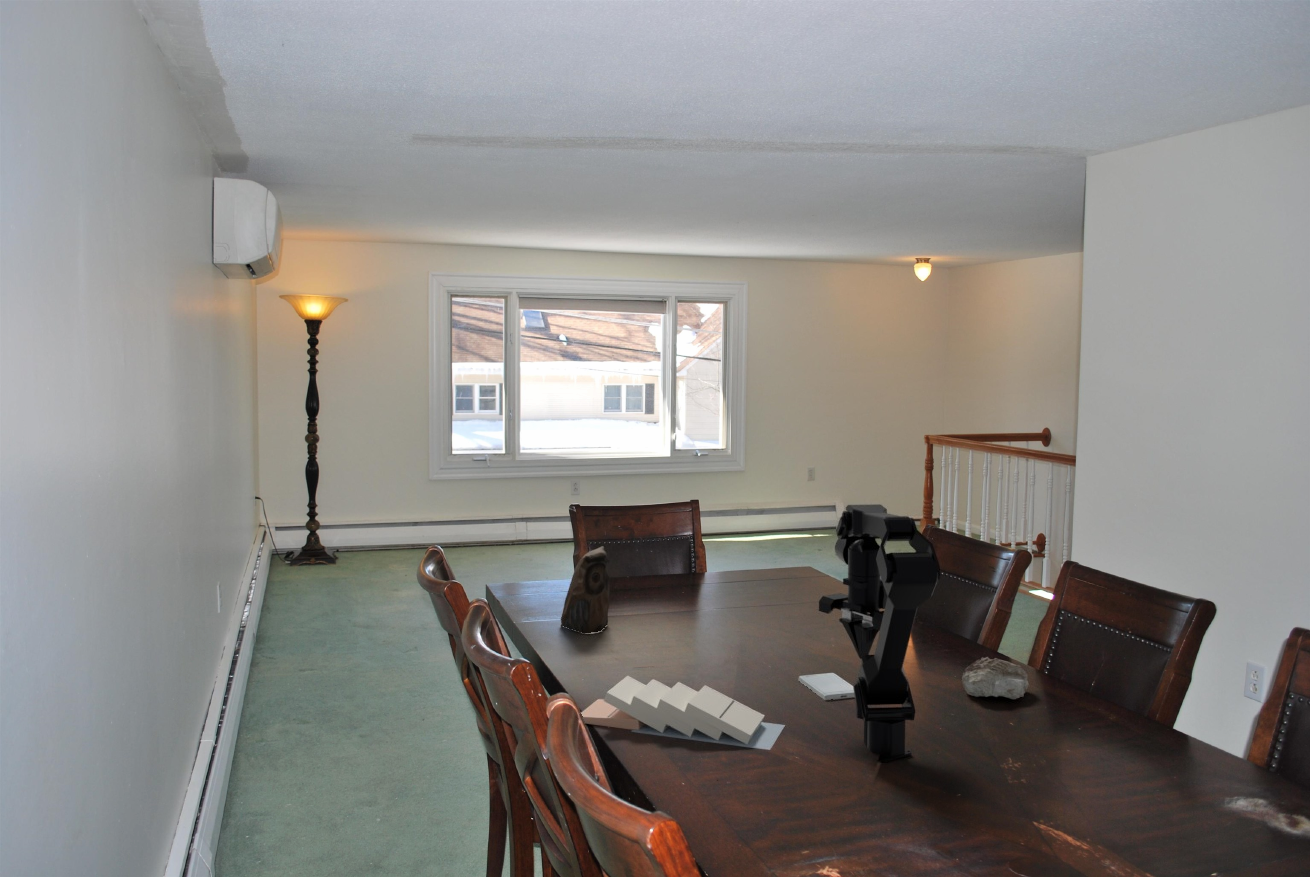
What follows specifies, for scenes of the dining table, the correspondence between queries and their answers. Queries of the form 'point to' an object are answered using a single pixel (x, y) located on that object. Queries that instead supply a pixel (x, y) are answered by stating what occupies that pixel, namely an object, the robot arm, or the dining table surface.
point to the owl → (588, 594)
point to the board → (725, 736)
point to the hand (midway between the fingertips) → (863, 658)
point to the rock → (995, 679)
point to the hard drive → (828, 686)
